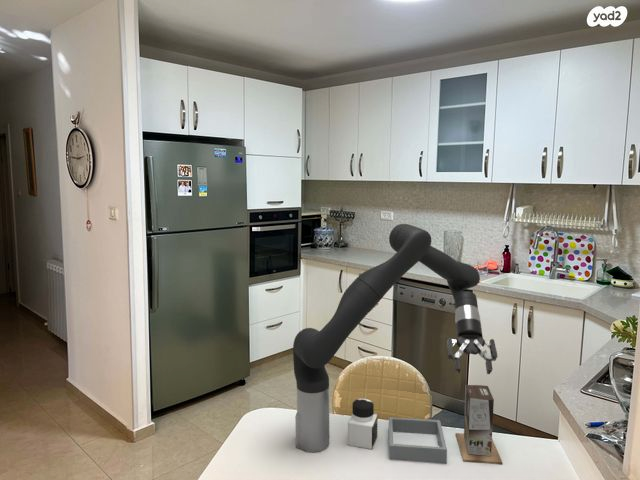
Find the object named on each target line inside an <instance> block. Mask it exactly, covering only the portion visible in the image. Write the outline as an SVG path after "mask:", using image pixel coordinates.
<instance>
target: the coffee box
mask: <svg viewBox="0 0 640 480" xmlns="http://www.w3.org/2000/svg"><path fill="white" fill-rule="evenodd" d="M464 389H465V391H464V417H463V419H464V421H463V422H464V424H463V425H464V426H463V433H464V439H465V444H466V448H467V453H468V454H474V455H483V456H491V447H492V439H493V424H494V422H493V421H494V405H495V404H494V403H495V399H494V397H493V394H492V392H491V390H490V388H489V386H488V385H484V384H483V385H482V384H465V387H464Z"/></svg>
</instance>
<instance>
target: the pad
mask: <svg viewBox="0 0 640 480" xmlns="http://www.w3.org/2000/svg"><path fill="white" fill-rule="evenodd" d="M455 438H456V441H457V444H458V448H459V452H460V455H461V459H462V462H464V463H476V464H478V463H479V464H490V465H491V464H492V465H503V461H502V458H501V456H500V453H499V451H498V448H497V447H496V446H497V445H496V444H495V441H494V439H493V438H492V447H491V456H483V455H474V454H468V453H467V448H466V444H465V439H464V432H462V433H459V432H455Z"/></svg>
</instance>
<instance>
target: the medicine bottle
mask: <svg viewBox="0 0 640 480" xmlns="http://www.w3.org/2000/svg"><path fill="white" fill-rule="evenodd" d="M374 406H375V405H374V402H373V401H372V400H370V399H367V398H357V399H355V400H354V401H353V402H352V407H351V408H352V409H351V411H352V414H351V416H350V418H349V420H348V422H347V445H348V446H351V447H355V448H356V447H358V448H361V449H368V450H373V449H374V446H375V443H376V440H377V438H378V414H377V413H374V411H375V409H374Z"/></svg>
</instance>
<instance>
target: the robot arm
mask: <svg viewBox="0 0 640 480" xmlns="http://www.w3.org/2000/svg"><path fill="white" fill-rule="evenodd" d="M388 237H389V238H388V242H389V246H390V247H391V248H392V250H393V251H395V253H394V255H393V256H391V257H390V258H389V259H388V260H386V261H384V262H382V263H380V264H379V265H376V266H374V267H372V268H371V267H370V268H369V269H367V270H365V271H364V272H363V273H361V274H359V275H358V276H356V278H355V279H354V280H353V281H352V283H350V285H349V286H348V287H347V288H346V289H345V290H344V292H343V294H342V296H341V298H340V301H339V302H338V305H337V308H336V310H335V312H334V314H333V316H332V317H331V318H330V319H329V321H328V322H327V323H326V325H324V326H323V328H322V329H320V330H318V329H316V328H313V327H306V328H303V329H301V330H300V331H298V333H297V334H296V336H295V337H294V341H293V347H292V357H293V360H292V361H293V374H294V378H295V381H296V413H295V417H294V418H295V448H297V449H301V450H302V451H304V452H309V453H318V452H321V451H325V450H326V449H328V447H329V445H330V377H329V374H328V372H327V369H326V365H327V364H328V363H329V362H330V361H332V359H333V358H334V356H335V355H336V354H337V353H338V351H339V349H340V348H341V346H342V345H343V344H344V342H345V341H346V340H347V338H348V337H350V335H351V333H352V332H353V331H354V330H355V329H356V328H357V326H358V325H359V324H360V323H361V322H362V321H363V320H364V319H365V317H366V316H367V315H368V314H369V313H370V312H371V311H372V310H373V309H374V308H375V307H376V306H377V304H379V302H380V301H381V300H382V299H383V298H384V296H385V295H386V294H387V293H388V292H389V291H390V290H391V289H392V287H393V286H394V285H395V284H396V283H397V282H398V281H399V280H400V279H401V278H402V277H404V275H405V274H406V273H407V272H408V271H410V269H412V268H413V267H414V266H415V265H416V264H418V263H421V264H422V265H424V266H425V267H427V269H429V270H431V271H432V272H434V273H435V274H436V275H438V276H439V277H441V278H443V280H446V283H447V286H448V288H449V290H450V291H451V295H452V297H453V300H454V309H455V310H454V311H455V316H454V318H455V321H454V322H455V328H456V338H455V339H453V338H452V337H450V336H449V337H448V338H447V341H446V349H447V350H446V352H447V353H446V355H447V358H448V359H450V360H453V365H454V371H456V373H459V374H460V373H461V361H460V357H462V356H463V355H464V354H465V355H479V356H480V357H481V358H482V359H484V361H485V368H486V369H485V370H486V375H491V373H492V371H493V363H492V362H495V361H497V358H498V357H499V356H498V352H497V348H496V343H495V340H494V339H493V338H490V340H485V339H484V336H483V330H482V323H481V315H480V312H479V306H478V298H477V295H476V293H474V292H472V291H469V290H467V289H471V288H474V287H476V286H477V285H478V284H479V283H480V281H481V276H480V275H481V274H480V273H479V271H478V270H477V269H476V268H475V267H474V266H473V265H470V264H467V263H464V262H461V261H457V260H455V258H453V257H451V256H450V255H449V254H447V253H445V252H443V251H442V250H440V249H438V248H436V247H433V245H432V236H431V234H430V233H429V231H427V230H425V229H423V228H420V227H418V226H415V225H412V224H408V223H399V224H397V225H395V226H394V227H393V228H392V230H391V231H390V233H389V236H388ZM455 344H456V346H458V348H459V349H458V350H457V351H456V352H455V353H453V347H454V346H455ZM485 346H486V348H488V349H489V351H490V354H489V353H488V351H487V350H486V349H485Z"/></svg>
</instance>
